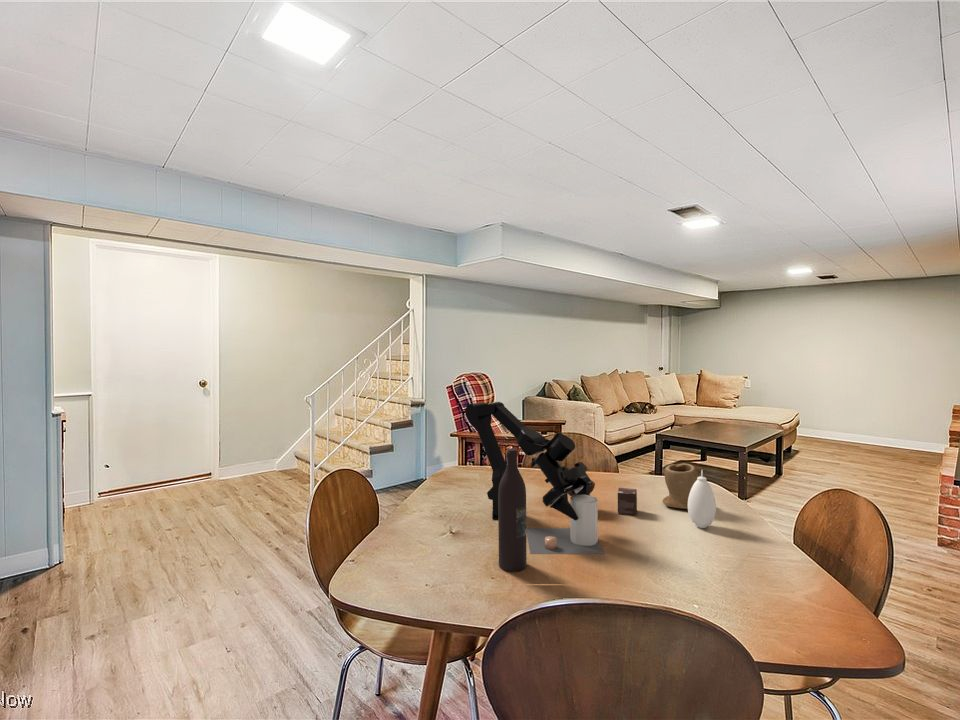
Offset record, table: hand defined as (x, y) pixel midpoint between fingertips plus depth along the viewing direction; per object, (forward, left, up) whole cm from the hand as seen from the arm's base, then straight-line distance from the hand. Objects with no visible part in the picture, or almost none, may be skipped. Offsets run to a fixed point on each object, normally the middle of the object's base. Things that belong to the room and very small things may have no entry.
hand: (585, 515), depth 137 cm
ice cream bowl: (+3, +26, -8) cm, 28 cm away
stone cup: (+40, +28, -8) cm, 49 cm away
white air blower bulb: (+38, +11, -8) cm, 40 cm away
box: (+19, +24, -8) cm, 32 cm away
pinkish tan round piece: (-10, -5, -7) cm, 14 cm away
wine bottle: (-21, -16, -8) cm, 28 cm away
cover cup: (0, 0, -7) cm, 7 cm away
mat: (-6, 0, -8) cm, 10 cm away
